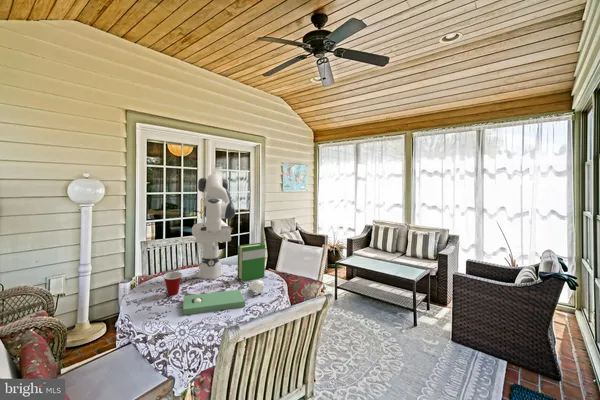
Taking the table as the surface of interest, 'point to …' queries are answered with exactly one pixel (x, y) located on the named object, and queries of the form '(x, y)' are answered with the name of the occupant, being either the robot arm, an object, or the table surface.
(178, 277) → the plastic cup
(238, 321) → the table surface
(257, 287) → the white snowman figurine
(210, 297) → the green
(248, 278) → the hardback book
